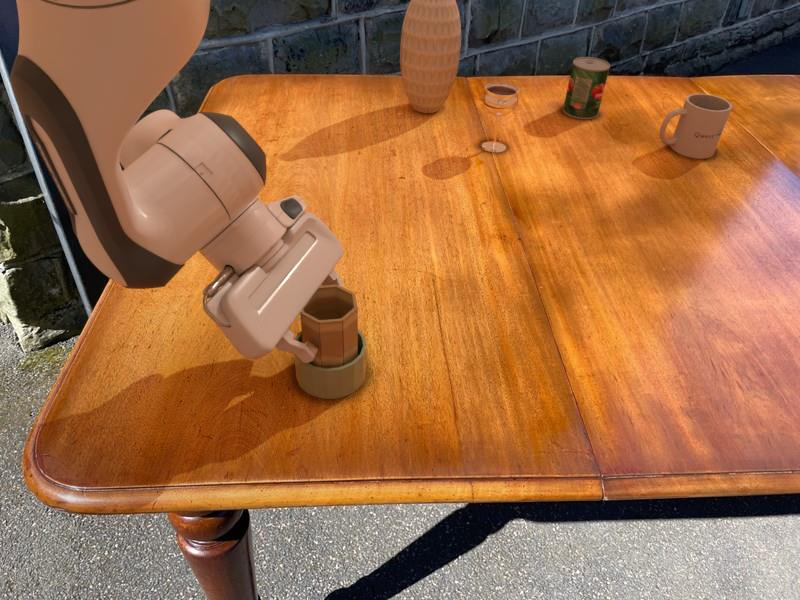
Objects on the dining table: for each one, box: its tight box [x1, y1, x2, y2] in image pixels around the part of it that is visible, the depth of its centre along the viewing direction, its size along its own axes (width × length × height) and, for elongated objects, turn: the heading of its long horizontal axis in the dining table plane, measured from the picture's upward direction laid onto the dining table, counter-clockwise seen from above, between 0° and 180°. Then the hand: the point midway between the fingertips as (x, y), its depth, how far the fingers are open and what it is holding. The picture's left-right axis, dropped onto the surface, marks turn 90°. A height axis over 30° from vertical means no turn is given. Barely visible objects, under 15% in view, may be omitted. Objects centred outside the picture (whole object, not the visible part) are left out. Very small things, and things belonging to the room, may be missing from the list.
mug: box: [659, 93, 733, 160], centre depth 128 cm, size 12×9×10 cm
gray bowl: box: [293, 328, 367, 400], centre depth 77 cm, size 9×9×5 cm
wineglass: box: [481, 81, 521, 153], centre depth 125 cm, size 7×7×12 cm
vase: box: [399, 0, 462, 114], centre depth 133 cm, size 13×13×28 cm
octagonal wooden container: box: [299, 285, 359, 368], centre depth 75 cm, size 6×6×11 cm
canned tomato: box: [562, 56, 611, 120], centre depth 140 cm, size 8×8×11 cm
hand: (330, 331), depth 75 cm, fingers open, 8 cm apart
